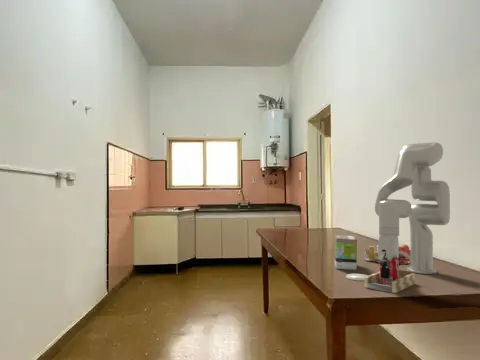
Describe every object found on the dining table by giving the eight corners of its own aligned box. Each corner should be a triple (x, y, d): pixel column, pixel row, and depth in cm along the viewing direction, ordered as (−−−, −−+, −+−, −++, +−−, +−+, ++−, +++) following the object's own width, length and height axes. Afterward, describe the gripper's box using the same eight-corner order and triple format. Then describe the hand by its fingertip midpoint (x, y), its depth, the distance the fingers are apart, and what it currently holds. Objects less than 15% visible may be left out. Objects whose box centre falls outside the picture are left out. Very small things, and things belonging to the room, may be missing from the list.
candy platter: (404, 267, 191) (404, 248, 191) (358, 261, 205) (358, 244, 205) (416, 260, 211) (416, 243, 211) (373, 255, 225) (373, 239, 225)
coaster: (352, 274, 173) (352, 272, 173) (374, 278, 166) (374, 276, 166) (341, 278, 166) (341, 276, 166) (363, 282, 159) (363, 280, 159)
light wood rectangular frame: (385, 278, 165) (385, 267, 165) (414, 283, 157) (414, 271, 157) (364, 287, 150) (364, 274, 150) (395, 293, 142) (395, 279, 142)
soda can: (394, 283, 156) (394, 253, 157) (402, 287, 149) (401, 256, 150) (377, 283, 156) (376, 253, 156) (384, 288, 149) (384, 257, 149)
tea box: (357, 270, 182) (357, 238, 183) (335, 269, 184) (335, 238, 185) (354, 264, 197) (354, 235, 197) (334, 263, 199) (334, 234, 199)
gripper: (388, 229, 162) (388, 271, 162) (370, 232, 149) (370, 278, 149) (406, 230, 157) (407, 274, 157) (389, 234, 144) (389, 281, 144)
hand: (389, 276), depth 153 cm, fingers closed on soda can, 7 cm apart
